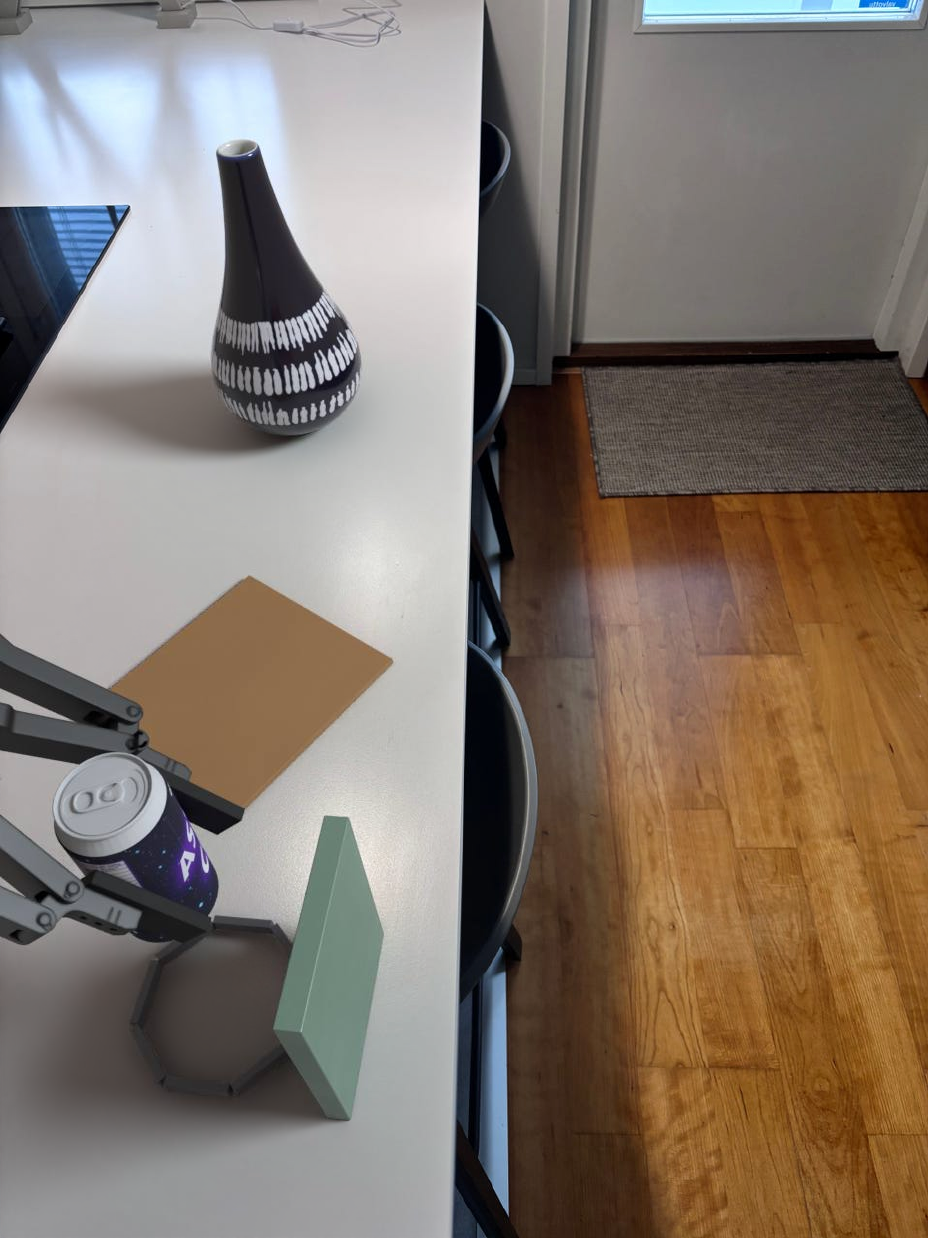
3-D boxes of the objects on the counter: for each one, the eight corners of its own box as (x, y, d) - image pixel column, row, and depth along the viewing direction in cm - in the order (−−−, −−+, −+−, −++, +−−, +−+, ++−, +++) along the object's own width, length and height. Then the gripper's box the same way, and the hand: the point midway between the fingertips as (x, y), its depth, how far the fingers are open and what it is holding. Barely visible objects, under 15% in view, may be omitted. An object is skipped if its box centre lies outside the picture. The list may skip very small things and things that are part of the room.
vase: (205, 452, 104) (114, 181, 82) (263, 370, 114) (197, 108, 92) (340, 471, 100) (284, 192, 78) (388, 384, 110) (350, 115, 88)
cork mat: (224, 830, 72) (222, 826, 72) (80, 719, 80) (77, 715, 80) (393, 663, 82) (392, 658, 82) (250, 579, 90) (249, 574, 90)
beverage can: (228, 932, 54) (166, 827, 45) (127, 962, 53) (43, 861, 44) (216, 846, 57) (157, 732, 48) (122, 873, 57) (43, 762, 48)
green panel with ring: (115, 1093, 60) (9, 1002, 48) (174, 914, 68) (96, 797, 56) (350, 1121, 58) (301, 1033, 46) (384, 933, 66) (349, 816, 54)
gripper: (-149, 559, 50) (228, 754, 60) (-404, 892, 38) (124, 1065, 48) (-108, 484, 45) (293, 709, 55) (-383, 836, 33) (196, 1041, 43)
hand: (214, 874), depth 52 cm, fingers closed on beverage can, 6 cm apart
